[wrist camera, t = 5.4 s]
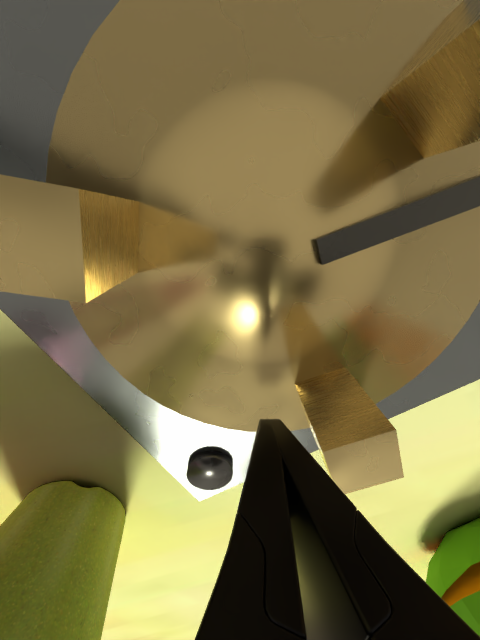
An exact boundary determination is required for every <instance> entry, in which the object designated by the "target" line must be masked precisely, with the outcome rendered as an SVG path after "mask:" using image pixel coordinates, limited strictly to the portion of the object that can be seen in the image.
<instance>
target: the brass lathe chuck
mask: <svg viewBox="0 0 480 640" xmlns="http://www.w3.org/2000/svg"><path fill="white" fill-rule="evenodd" d="M0 291H1V292H9V293H16V294H23V295H31V296H38V297H46V298H53V299H60V300H68V301H69V303H70V305H71V307H72V310H73V312H74V314H75V316H76V317H77V319H78V321H79V322H80V324H81V326H82V327H83V329H84V331H85V332H86V334H87V336H88V337H89V339H90V340H91V341H92V343H93V344H94V345H95V346H96V348H97V349H98V350H99V352H100V353H101V354H102V355H103V357H104V358H105V359H106V360H107V361H108V362H109V363H110V364H111V365H112V366H113V367H114V368H115V369H116V370H117V371H118V373H119V374H120V375H121V376H122V377H123V378H125V379H126V380H127V381H128V382H130V383H131V384H132V385H133V386H135V387H136V388H137V389H138V390H140V391H141V392H142V393H143V394H145V395H147V396H148V397H150V398H151V399H153V400H154V401H156V402H158V403H159V404H161V405H162V406H164V407H166V408H168V409H170V410H172V411H175V412H177V413H179V414H181V415H183V416H185V417H188V418H191V419H194V420H196V421H199V422H202V423H205V424H209V425H213V426H217V427H221V428H225V429H232V430H239V431H246V432H257V428H258V423H259V420H260V419H280V420H281V421H282V422H283V423H284V424H285V425H286V427H287V428H288V429H289V430H290V431H294V430H300V429H306V428H310V429H311V431H312V434H313V436H314V439H315V441H316V444H317V446H318V448H319V451H320V453H321V456H322V458H323V461H324V463H325V466H326V468H327V471H328V473H329V476H330V478H331V479H332V480H333V481H334V482H335V484H336V485H337V486H338V487H339V488H340V489H341V490H342V492H343V493H344V494H347V493H350V492H354V491H357V490H361V489H364V488H368V487H371V486H375V485H378V484H382V483H385V482H389V481H392V480H396V479H399V478H403V477H404V475H403V469H402V463H401V457H400V451H399V445H398V439H397V433H396V429H395V428H394V427H393V425H392V424H391V423H390V422H389V421H388V419H387V418H386V417H385V416H384V414H383V413H382V412H381V411H380V409H379V408H378V407H377V406H376V403H378V402H380V401H381V400H383V399H385V398H386V397H388V396H390V395H391V394H393V393H395V392H396V391H397V390H399V389H400V388H402V387H403V386H404V385H406V384H407V383H408V382H410V381H411V380H412V379H414V378H415V377H416V376H417V375H418V374H420V373H421V372H422V371H423V370H424V369H425V368H426V367H427V366H429V365H430V364H431V363H432V362H433V361H434V360H435V359H436V358H437V357H438V356H439V355H440V354H441V353H442V351H443V350H444V349H445V348H446V347H447V346H448V345H449V344H450V343H451V342H452V340H453V339H454V338H455V337H456V335H457V334H458V333H459V331H460V330H461V329H462V327H463V326H464V325H465V323H466V322H467V321H468V319H469V318H470V316H471V314H472V313H473V311H474V310H475V308H476V306H477V305H478V303H479V302H480V0H120V1H119V2H118V3H117V4H116V6H115V7H114V8H113V10H112V11H111V12H110V13H109V15H108V16H107V17H106V19H105V20H104V21H103V22H102V24H101V25H100V26H99V28H98V29H97V30H96V31H95V33H94V34H93V35H92V37H91V39H90V41H89V43H88V44H87V46H86V48H85V50H84V52H83V53H82V55H81V57H80V59H79V61H78V62H77V64H76V66H75V68H74V70H73V71H72V73H71V76H70V79H69V81H68V84H67V87H66V89H65V92H64V95H63V97H62V100H61V103H60V105H59V108H58V111H57V114H56V119H55V123H54V128H53V132H52V137H51V141H50V146H49V150H48V162H47V174H46V183H45V182H39V181H34V180H28V179H23V178H17V177H12V176H6V175H1V174H0Z"/></svg>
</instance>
